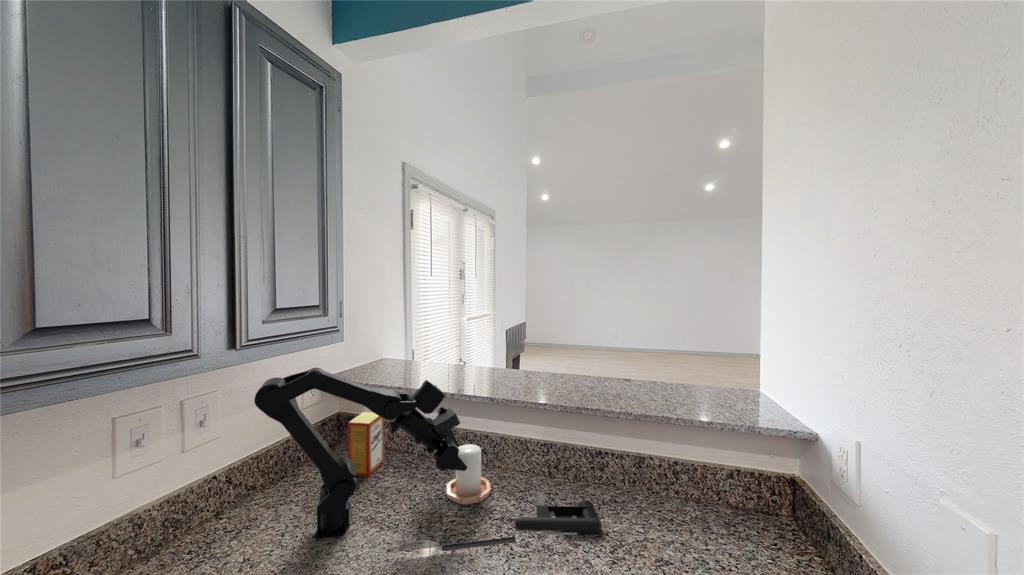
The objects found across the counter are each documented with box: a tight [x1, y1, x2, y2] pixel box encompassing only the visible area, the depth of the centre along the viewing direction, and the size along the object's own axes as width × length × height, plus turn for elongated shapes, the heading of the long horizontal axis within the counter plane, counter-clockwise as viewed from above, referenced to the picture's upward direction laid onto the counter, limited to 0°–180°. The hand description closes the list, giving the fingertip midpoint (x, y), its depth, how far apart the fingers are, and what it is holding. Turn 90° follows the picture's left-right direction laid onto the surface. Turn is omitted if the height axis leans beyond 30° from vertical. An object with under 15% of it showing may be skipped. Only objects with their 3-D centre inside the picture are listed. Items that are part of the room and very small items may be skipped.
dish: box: [445, 476, 492, 505], centre depth 101 cm, size 12×12×2 cm
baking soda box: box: [347, 411, 385, 477], centre depth 115 cm, size 10×6×16 cm
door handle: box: [514, 493, 602, 536], centre depth 92 cm, size 3×20×16 cm
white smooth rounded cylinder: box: [455, 443, 482, 497], centre depth 100 cm, size 7×7×11 cm
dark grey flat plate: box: [441, 536, 516, 552], centre depth 87 cm, size 16×12×1 cm
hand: (460, 461), depth 99 cm, fingers open, 9 cm apart
